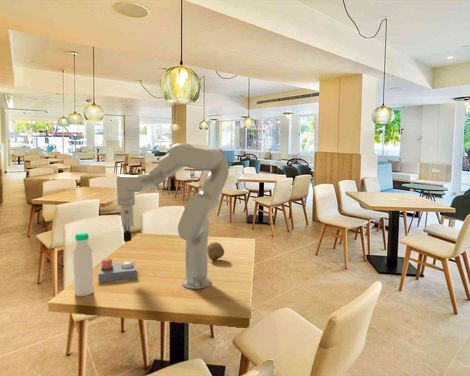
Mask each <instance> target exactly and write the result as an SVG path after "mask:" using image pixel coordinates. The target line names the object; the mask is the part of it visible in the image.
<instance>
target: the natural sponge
mask: <svg viewBox="0 0 470 376" xmlns="http://www.w3.org/2000/svg"><path fill="white" fill-rule="evenodd" d="M224 255H225V250H224V248H223V245H222V244H221V243H219V242H218V241H217V242H216V241H213V242H211V243H208V249H207V258H208V259H210V260H212V261H214V262H215V261H217V260H218V259H220V258H222V257H224Z"/></svg>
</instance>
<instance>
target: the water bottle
mask: <svg viewBox="0 0 470 376" xmlns="http://www.w3.org/2000/svg"><path fill="white" fill-rule="evenodd" d="M74 239H75V241H76V244H75V246H74V249H73V250H72V255H73V261H72V262H73V263H72V264H73V275H74V277H73V278H74V280H73V282H74V295H75V296H78V297H86V296H89V295H91V294H92V293H93V292H94V276H93V273H94V272H93V271H94V269H93V266H94V265H93V255H92V253H93V249H92V247H91V246H90V244H89V242H88V240H89V233H88V232H78V233H76V234H75V237H74Z"/></svg>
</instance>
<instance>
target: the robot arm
mask: <svg viewBox="0 0 470 376" xmlns="http://www.w3.org/2000/svg"><path fill="white" fill-rule="evenodd" d="M184 167H185V168H189V169H194V170H198V171H203V172H204V171H205V172H208V174H207V175H206V177H205V179H204V181H203V184H202V186H201V188H200V190H199V192H198V193H196V194H194V195H192V196H191V197H190V198H189V199H188V201H187V203H186V205H185V207H184V210H183V212H182V215H181V217H180V219H179V222H178V224H177V234H178V235H179V237H180V238H181V239H182V240H184V241H185V277H184V278H183V279H182V280H181V282H182V283H181V284H182V286H183V287H184V288H186V289H191V290H200V289H204V288H207V287H209V286H210V285H211V283H212V281H211V278H210V277H208V252H207V249H208V245H209V241H208V240H209V233H210V223H209V222H210V220H209V219H208V215H209V214H210V213H212V212H214V210H215V209H216V206H217V204H218V201H219V199H220V197H221V194H222V191H223V189H224V187H225V185H226V182H227V180H228V177H229V172H230V165H229V163H228V159H227V158H226V156H225V155H224V153H223V152H221V151H219V150H217V149H212V148H211V149H210V148H209V149H204V148H199V147H195V146H193V145H192V144H190V143H183V142H182V143H181V142H179V143H176V144H174V145H172V146H171V147H170V148H169V151H168V153H167V154H165V155H164V156H161V157H160V158H159V159H158V161H157V165H156V166H155V167H154V168H153V169H151V170H150V171H148V172H147V173H142V174H135V175H132V174H118V175H117V176H116V195H117V197H116V198H117V199H116V200H117V201H116V202H117V207H118V206H119V208H120V219H121V227H122V228H123V242H131V241H132V231H131V227H132V228H134V208H133V206H135V205H136V204H135V203H136V201H135V193H141V192H144V191H148V190H151V189H153V188H156V187H157V186H158V185H160V184H161V183H163V182H164V181H166V180H167V179H169V178H170V177H171V176H172V175H173V174H175V173H176V172H178V171H180V170H181V169H183V168H184Z"/></svg>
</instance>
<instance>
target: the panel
mask: <svg viewBox="0 0 470 376" xmlns="http://www.w3.org/2000/svg"><path fill="white" fill-rule="evenodd" d="M131 262H132V263H133V268H127V269H123V263H124V262H115V263H112V270H107V271H102V264H100V265H98V266H99V267H98V273H97V275H98V276H97V278H98V280H97V281H98V283H99V284H101V283H111V282H119V281H127V280H137V267H136V261H131Z"/></svg>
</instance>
